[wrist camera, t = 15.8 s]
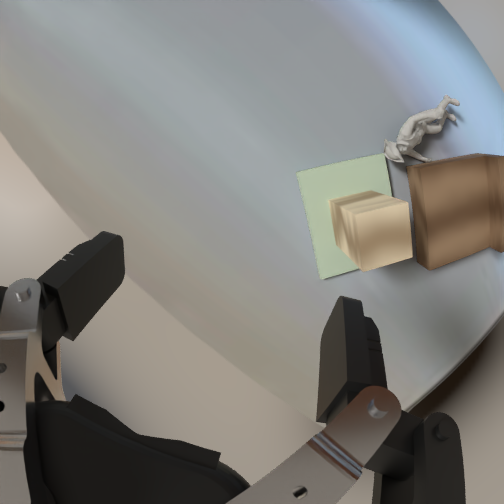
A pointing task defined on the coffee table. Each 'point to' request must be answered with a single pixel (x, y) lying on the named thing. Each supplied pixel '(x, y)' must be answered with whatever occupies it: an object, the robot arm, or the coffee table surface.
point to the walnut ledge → (457, 207)
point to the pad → (333, 186)
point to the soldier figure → (419, 131)
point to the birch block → (372, 228)
